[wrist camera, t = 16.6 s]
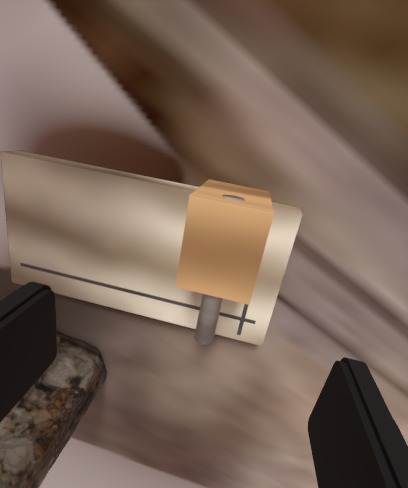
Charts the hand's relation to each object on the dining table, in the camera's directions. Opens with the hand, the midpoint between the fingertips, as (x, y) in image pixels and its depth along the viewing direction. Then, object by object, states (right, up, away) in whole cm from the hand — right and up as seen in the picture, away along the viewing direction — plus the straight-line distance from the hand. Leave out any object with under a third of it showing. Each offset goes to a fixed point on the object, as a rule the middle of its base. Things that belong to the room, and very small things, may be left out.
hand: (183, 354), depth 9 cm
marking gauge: (+2, +3, +11) cm, 12 cm away
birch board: (-4, +4, +14) cm, 15 cm away
